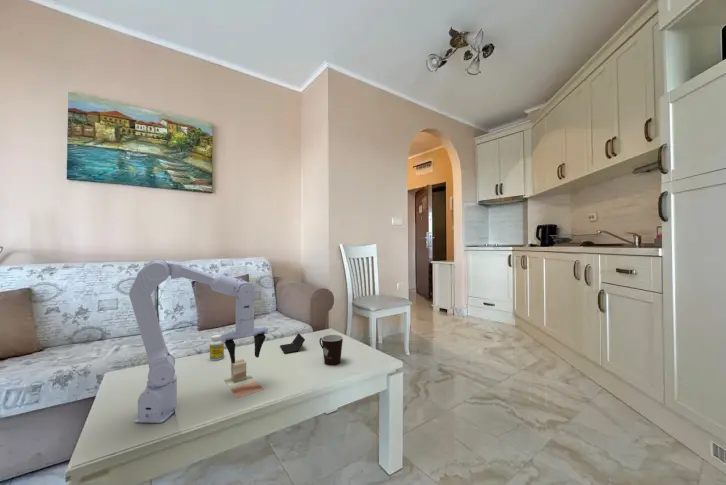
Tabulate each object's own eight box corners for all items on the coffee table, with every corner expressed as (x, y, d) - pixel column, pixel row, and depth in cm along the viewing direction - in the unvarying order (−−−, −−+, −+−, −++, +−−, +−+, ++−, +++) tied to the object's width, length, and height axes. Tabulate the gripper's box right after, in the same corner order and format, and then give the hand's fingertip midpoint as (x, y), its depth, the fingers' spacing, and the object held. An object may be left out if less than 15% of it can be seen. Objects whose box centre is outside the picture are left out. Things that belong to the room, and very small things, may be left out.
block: (246, 379, 105) (246, 362, 105) (234, 382, 102) (234, 365, 102) (242, 375, 108) (242, 358, 108) (231, 378, 105) (231, 361, 105)
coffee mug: (345, 364, 120) (345, 339, 120) (324, 368, 117) (324, 342, 117) (337, 354, 131) (337, 331, 131) (317, 357, 128) (317, 334, 128)
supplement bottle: (222, 355, 131) (222, 333, 131) (224, 359, 127) (224, 336, 127) (209, 357, 128) (208, 335, 128) (210, 362, 124) (210, 338, 124)
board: (266, 393, 98) (266, 389, 98) (234, 403, 91) (234, 399, 91) (249, 374, 112) (249, 371, 112) (220, 382, 106) (220, 378, 106)
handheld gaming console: (275, 344, 140) (289, 326, 142) (286, 350, 144) (299, 332, 146) (284, 355, 130) (298, 335, 133) (296, 362, 134) (309, 342, 137)
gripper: (224, 324, 92) (224, 369, 92) (270, 317, 101) (271, 357, 101) (218, 320, 97) (219, 362, 97) (263, 313, 106) (263, 351, 106)
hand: (245, 359), depth 99 cm, fingers open, 7 cm apart
